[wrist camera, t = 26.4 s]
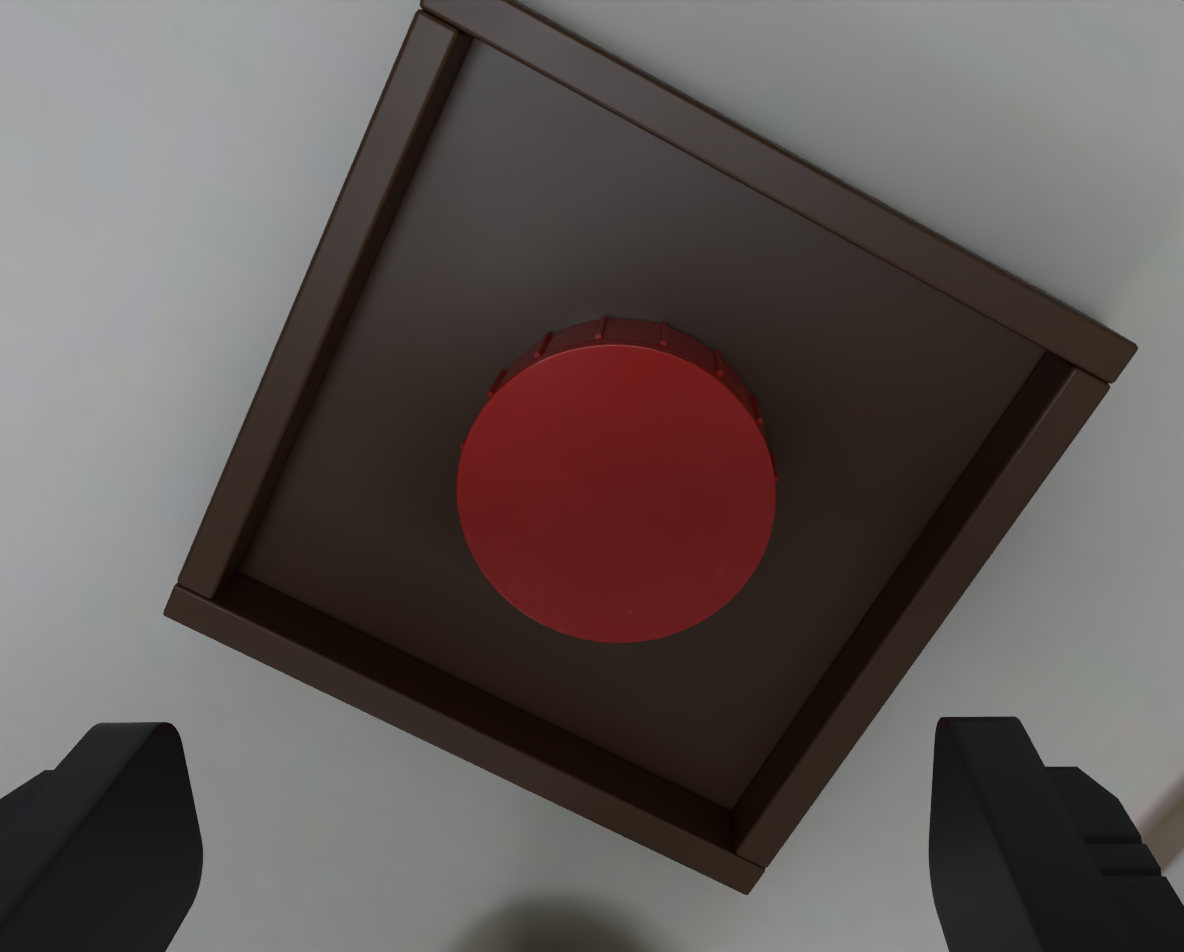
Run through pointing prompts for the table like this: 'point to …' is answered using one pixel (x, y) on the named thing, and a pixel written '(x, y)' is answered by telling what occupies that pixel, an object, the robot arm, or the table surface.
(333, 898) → the table surface
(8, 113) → the table surface
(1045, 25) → the table surface
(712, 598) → the lid
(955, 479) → the tray
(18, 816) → the robot arm
